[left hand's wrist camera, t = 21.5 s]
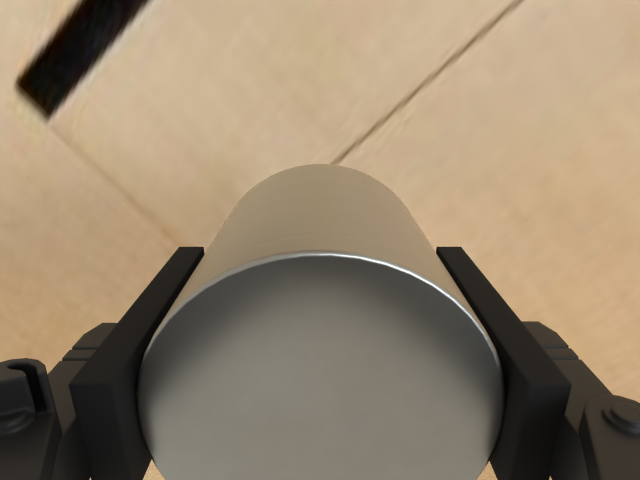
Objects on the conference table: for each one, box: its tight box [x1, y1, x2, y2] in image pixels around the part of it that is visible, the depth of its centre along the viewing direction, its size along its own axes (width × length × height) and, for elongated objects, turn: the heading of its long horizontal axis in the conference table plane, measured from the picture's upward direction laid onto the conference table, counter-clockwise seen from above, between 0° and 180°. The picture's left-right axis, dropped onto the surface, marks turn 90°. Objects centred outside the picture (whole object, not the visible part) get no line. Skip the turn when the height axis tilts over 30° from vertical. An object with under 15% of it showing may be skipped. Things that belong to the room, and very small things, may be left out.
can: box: [136, 164, 505, 480], centre depth 12 cm, size 7×7×8 cm
